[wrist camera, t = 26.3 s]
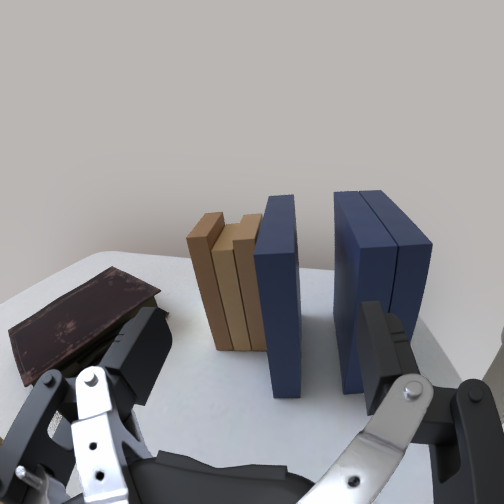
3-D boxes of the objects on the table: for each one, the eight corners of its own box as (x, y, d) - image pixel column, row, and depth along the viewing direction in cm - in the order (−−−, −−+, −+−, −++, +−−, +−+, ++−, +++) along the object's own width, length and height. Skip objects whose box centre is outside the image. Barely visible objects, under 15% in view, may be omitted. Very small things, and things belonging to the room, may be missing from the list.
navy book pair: (372, 309, 37) (381, 190, 30) (394, 388, 25) (433, 243, 17) (333, 312, 38) (333, 191, 31) (343, 394, 26) (360, 248, 18)
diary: (20, 348, 36) (6, 327, 33) (118, 285, 52) (110, 263, 50) (45, 411, 25) (23, 386, 22) (173, 317, 42) (163, 290, 39)
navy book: (301, 314, 39) (293, 194, 31) (300, 397, 26) (294, 252, 19) (281, 315, 39) (268, 196, 32) (273, 398, 27) (253, 254, 19)
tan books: (274, 314, 40) (261, 208, 33) (270, 351, 33) (254, 232, 26) (227, 315, 41) (205, 213, 34) (216, 350, 35) (185, 237, 28)
